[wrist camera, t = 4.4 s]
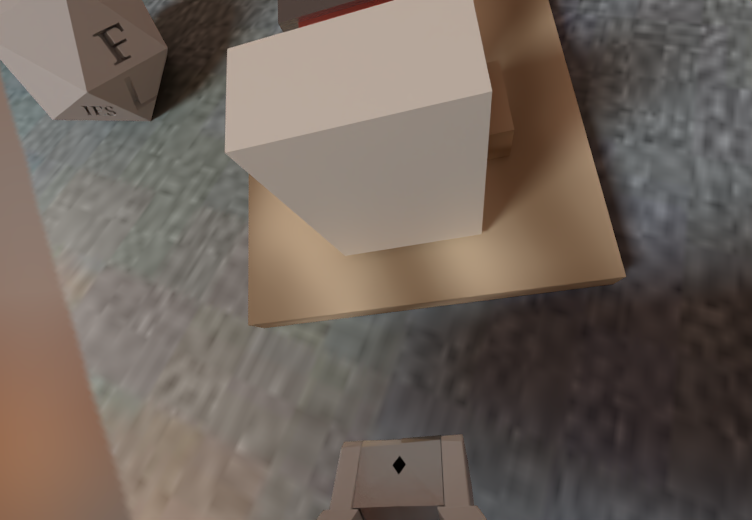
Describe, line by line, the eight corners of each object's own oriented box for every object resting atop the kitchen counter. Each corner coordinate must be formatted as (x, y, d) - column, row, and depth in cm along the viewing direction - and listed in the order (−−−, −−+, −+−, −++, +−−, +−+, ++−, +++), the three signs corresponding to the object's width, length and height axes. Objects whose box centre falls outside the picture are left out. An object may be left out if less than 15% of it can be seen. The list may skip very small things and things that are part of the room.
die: (103, 174, 26) (53, 89, 17) (-7, 73, 24) (-122, -75, 16) (200, 110, 29) (199, 12, 20) (109, 18, 28) (66, -128, 19)
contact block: (450, 41, 19) (442, -93, 14) (461, 97, 18) (456, -21, 13) (330, 72, 21) (276, -38, 15) (333, 127, 20) (278, 31, 14)
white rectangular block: (470, 170, 17) (468, -22, 9) (481, 233, 16) (492, 91, 8) (340, 195, 18) (227, 48, 10) (345, 255, 17) (224, 153, 9)
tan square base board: (534, -7, 21) (545, -77, 17) (612, 284, 16) (648, 263, 13) (262, 68, 24) (228, 20, 21) (264, 327, 19) (222, 320, 16)
